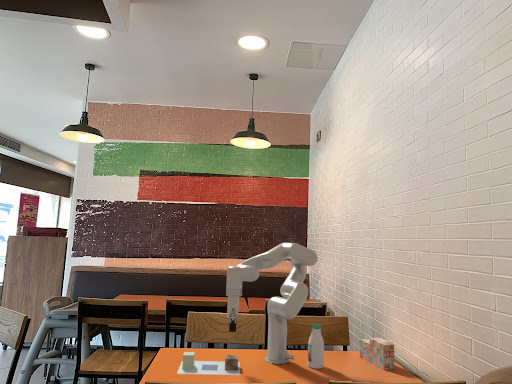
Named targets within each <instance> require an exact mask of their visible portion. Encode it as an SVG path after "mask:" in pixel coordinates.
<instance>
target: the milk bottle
mask: <svg viewBox="0 0 512 384" xmlns="http://www.w3.org/2000/svg"><path fill="white" fill-rule="evenodd" d="M321 330H322V325H321V324H319V323H312V324H311V334H310V335H309V339H308V346H307V366H308V367H309V368H311V369H317V370H320V369H323V368H324V364H325V363H324V362H325V361H324V360H325V358H324V356H325V343H324V338H323V335H322V331H321Z"/></svg>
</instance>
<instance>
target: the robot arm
mask: <svg viewBox="0 0 512 384" xmlns="http://www.w3.org/2000/svg"><path fill="white" fill-rule="evenodd" d="M318 257H319V256H318V255H317V253H316V251H315V250H313V249H312V248H308V247H306V246H304V245H302V244H299V243H297V242H281V243H280V244H278V245H276V246H274V247H273V248H271V249H269V250H268V251H266V252H264V253H261V254H258V255H255V256H253V257H250V258H248V259H245V260H243V261H242V262H241V263H239V264H237V265H230V266H228V267H227V269H226V284H225V285H226V288H225V291H226V292H225V293H226V294H225V296H227V297H228V298H227V306H226V307H227V311H226V313H227V314H226V317H227V318H229V323H228V324H229V325H228V326H229V327H228V331H229V333H236V332H237V318H238V315H239V307H240V297H242V296H243V282H251V283H252V282H255V281H257V280H258V278H259V277H260V271H261V270H262V271H263V270H270V269H273V268H275V267H276V266H278V265H279V264H281V263H283V262H285V261H287V260H290V262H291V263H290V264H291V271H289V274H288V276H287V277H286V278H285V281H284V282H283V283H282V284H281V286H280V295H281V296H272V297H271V298H269V300H268V302H267V305H266V306H267V307H266V308H267V315H268V317H267V319H268V325H267V326H268V328H267V329H268V331H267V354H266V355H265V356H264V357H263V358H264V361H265V362H267V363H271V364H272V365H285V364H287V363H289V362H290V360H292V361H294V360H295V355H294V354H291V353H290V354H289V351H288V350H287V337H288V332H287V331H288V324H287V323H288V322H287V320H293V319H294V318H296V316H297V315H298V314H299V313H300V311H301V309H302V308H303V305H304V304H305V303H306V301H307V298H308V296H309V287H308V286H307V284H305V283H304V282H305V279H306V276H307V271H306V267H305V266H307V267H312V266H313V267H314V266H315V265H316V264H317V262H318Z"/></svg>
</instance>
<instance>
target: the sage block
mask: <svg viewBox="0 0 512 384" xmlns="http://www.w3.org/2000/svg"><path fill="white" fill-rule="evenodd" d="M195 356H196V352H195V351H184V352H183V353H182V361H183V364H182V369H193V368H194V361H196V359H195Z"/></svg>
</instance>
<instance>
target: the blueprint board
mask: <svg viewBox="0 0 512 384" xmlns="http://www.w3.org/2000/svg"><path fill="white" fill-rule="evenodd" d="M182 364H183V360H182V361H181V362H180V365H179V368H178V370H177V372H176V374H177V375H211V376H212V375H214V376H215V375H216V376H217V375H218V376H219V375H220V376H241V369H240V368H241V367H240V365H241V363H240V361H238V370H225V361H216V360H215V361H211V360H210V361H209V360H206V361H205V360H194V368H193V369H182Z"/></svg>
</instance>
